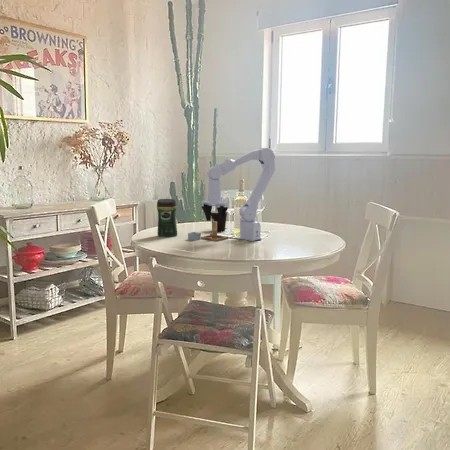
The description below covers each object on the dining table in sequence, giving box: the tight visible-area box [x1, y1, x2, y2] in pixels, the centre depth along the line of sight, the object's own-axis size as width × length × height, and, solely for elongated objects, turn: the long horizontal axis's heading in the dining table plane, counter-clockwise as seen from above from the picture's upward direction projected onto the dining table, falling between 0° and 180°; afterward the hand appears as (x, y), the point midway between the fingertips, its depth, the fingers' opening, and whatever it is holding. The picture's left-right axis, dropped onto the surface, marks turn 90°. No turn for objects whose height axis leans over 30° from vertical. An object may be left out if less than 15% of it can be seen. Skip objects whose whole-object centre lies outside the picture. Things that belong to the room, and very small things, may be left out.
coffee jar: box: [156, 198, 178, 238], centre depth 236 cm, size 10×8×19 cm
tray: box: [200, 234, 229, 242], centre depth 229 cm, size 10×8×1 cm
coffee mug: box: [210, 210, 228, 233], centre depth 254 cm, size 12×9×10 cm
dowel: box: [211, 221, 218, 239], centre depth 228 cm, size 2×2×8 cm
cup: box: [187, 231, 202, 241], centre depth 227 cm, size 4×4×4 cm
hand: (214, 221), depth 227 cm, fingers open, 7 cm apart
